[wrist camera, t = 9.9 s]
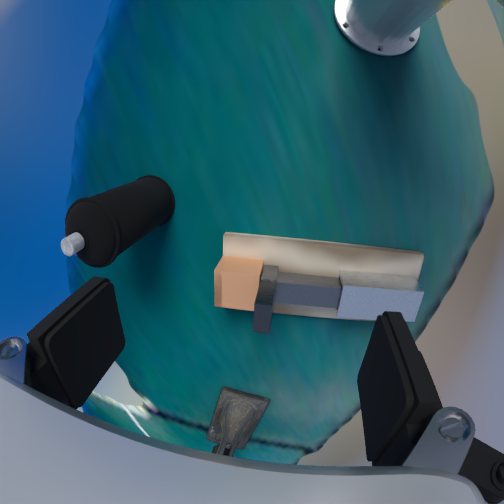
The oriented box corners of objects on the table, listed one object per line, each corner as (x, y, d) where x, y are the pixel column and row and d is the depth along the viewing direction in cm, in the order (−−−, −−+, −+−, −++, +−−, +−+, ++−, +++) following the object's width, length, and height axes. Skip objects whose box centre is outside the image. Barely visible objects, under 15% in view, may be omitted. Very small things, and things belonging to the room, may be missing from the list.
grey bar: (244, 262, 44) (228, 299, 34) (356, 273, 42) (370, 312, 32) (243, 289, 45) (228, 329, 36) (351, 299, 43) (362, 342, 34)
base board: (225, 231, 44) (223, 235, 43) (421, 251, 41) (424, 255, 39) (225, 301, 49) (223, 306, 47) (402, 317, 45) (404, 322, 44)
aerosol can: (157, 164, 42) (67, 191, 24) (185, 210, 44) (111, 264, 26) (120, 193, 44) (31, 232, 26) (146, 235, 47) (69, 295, 28)
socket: (223, 255, 44) (214, 270, 40) (263, 259, 43) (259, 275, 39) (222, 289, 46) (214, 306, 42) (261, 293, 46) (257, 311, 41)
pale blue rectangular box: (339, 269, 42) (343, 285, 38) (413, 276, 41) (424, 291, 36) (333, 299, 44) (336, 317, 39) (405, 304, 43) (414, 321, 38)
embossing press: (203, 433, 66) (169, 531, 38) (224, 380, 56) (181, 513, 29) (243, 446, 65) (220, 545, 38) (276, 396, 56) (254, 531, 29)
